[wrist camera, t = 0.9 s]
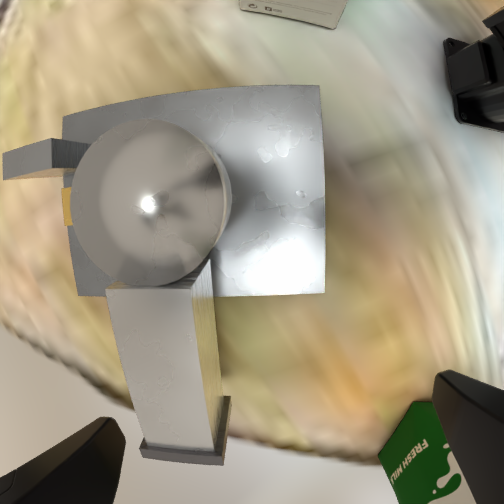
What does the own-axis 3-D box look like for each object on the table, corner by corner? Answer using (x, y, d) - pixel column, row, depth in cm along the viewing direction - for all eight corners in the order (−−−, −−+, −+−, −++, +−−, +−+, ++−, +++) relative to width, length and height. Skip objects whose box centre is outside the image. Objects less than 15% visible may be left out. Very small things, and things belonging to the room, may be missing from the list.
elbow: (113, 143, 15) (58, 132, 10) (232, 129, 15) (217, 105, 10) (151, 400, 19) (126, 454, 13) (247, 405, 18) (243, 466, 13)
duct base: (316, 90, 17) (342, 48, 10) (321, 287, 19) (347, 336, 13) (67, 119, 17) (4, 105, 11) (81, 290, 20) (28, 329, 13)
